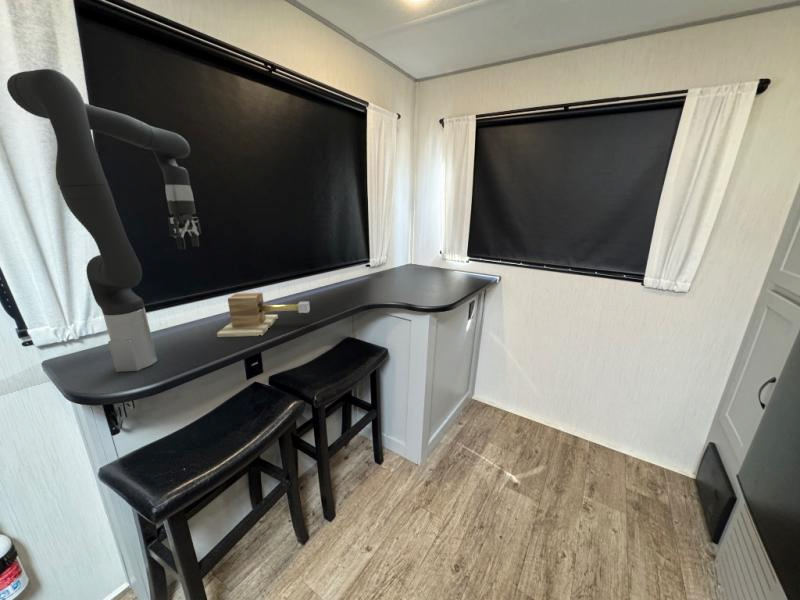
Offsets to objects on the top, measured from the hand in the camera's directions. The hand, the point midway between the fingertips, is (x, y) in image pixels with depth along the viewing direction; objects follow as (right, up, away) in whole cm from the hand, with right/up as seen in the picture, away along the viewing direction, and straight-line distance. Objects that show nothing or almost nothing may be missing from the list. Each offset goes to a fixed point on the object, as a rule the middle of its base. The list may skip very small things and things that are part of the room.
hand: (189, 247), depth 112 cm
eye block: (+15, -29, +14) cm, 36 cm away
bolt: (+27, -23, +14) cm, 38 cm away
